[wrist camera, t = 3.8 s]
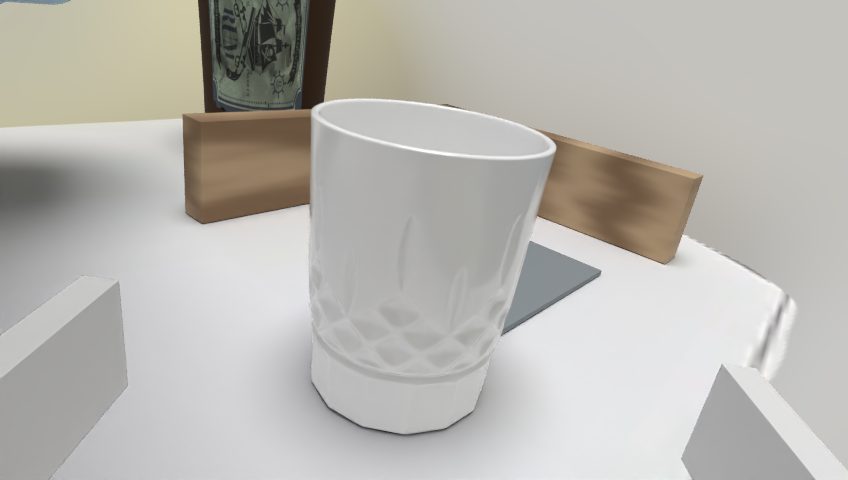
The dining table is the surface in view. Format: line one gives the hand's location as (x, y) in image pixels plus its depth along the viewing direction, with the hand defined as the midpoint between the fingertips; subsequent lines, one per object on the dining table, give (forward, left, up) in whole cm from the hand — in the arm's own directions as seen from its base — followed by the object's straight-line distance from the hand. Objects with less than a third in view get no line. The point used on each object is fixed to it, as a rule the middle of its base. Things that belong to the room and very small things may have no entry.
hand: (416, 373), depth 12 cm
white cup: (-5, +6, -6) cm, 10 cm away
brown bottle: (-34, +19, -6) cm, 39 cm away
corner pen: (-13, +19, -6) cm, 24 cm away
